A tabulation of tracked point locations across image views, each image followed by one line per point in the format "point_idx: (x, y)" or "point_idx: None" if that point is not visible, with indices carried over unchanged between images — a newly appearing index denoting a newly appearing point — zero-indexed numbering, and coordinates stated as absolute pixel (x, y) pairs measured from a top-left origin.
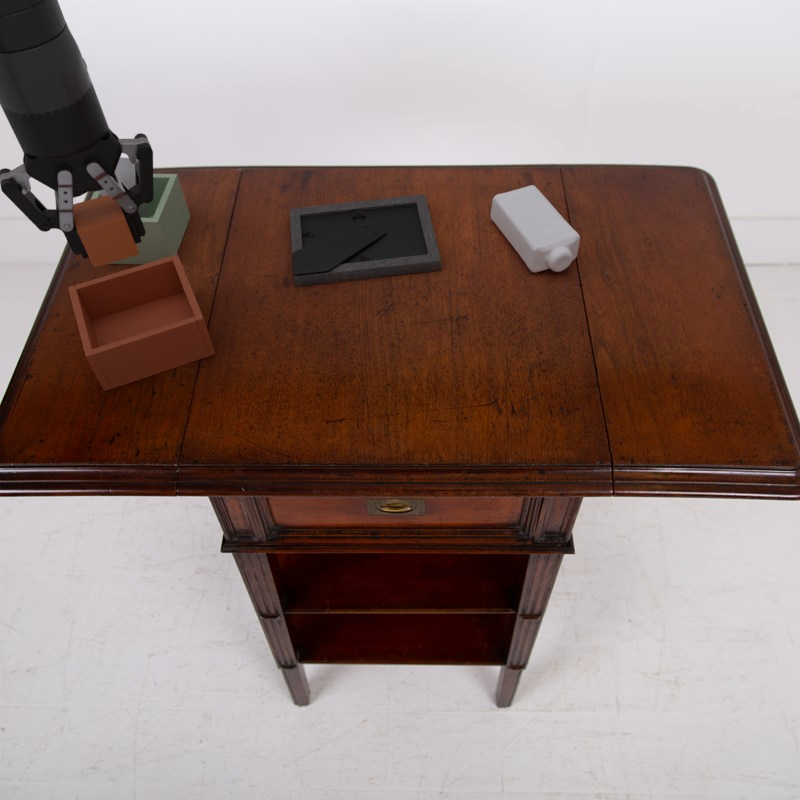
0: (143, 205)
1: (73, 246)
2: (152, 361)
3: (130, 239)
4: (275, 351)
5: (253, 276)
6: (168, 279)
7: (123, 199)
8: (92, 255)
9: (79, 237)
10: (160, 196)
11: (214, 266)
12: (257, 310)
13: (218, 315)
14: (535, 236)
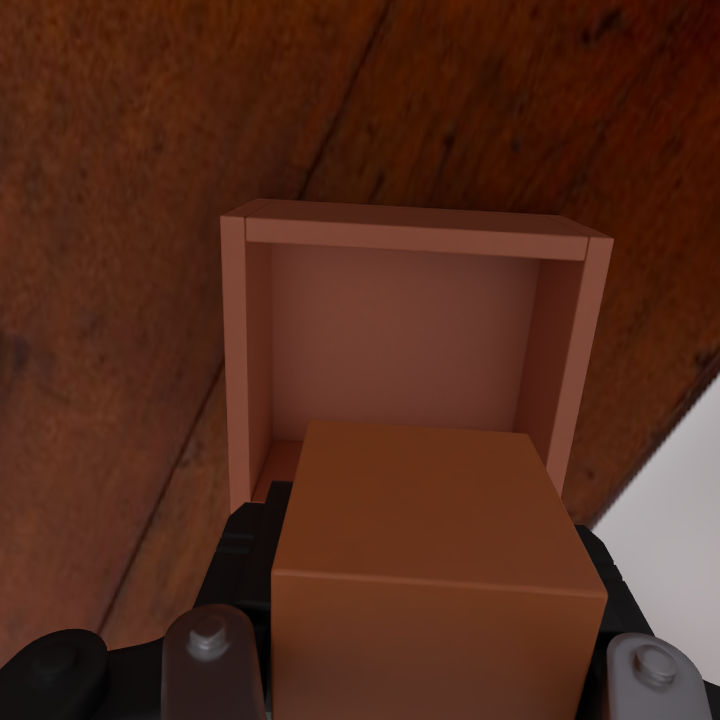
0: (270, 717)
1: (598, 562)
2: (420, 212)
3: (310, 470)
4: (99, 123)
5: (98, 416)
6: (290, 469)
7: (210, 716)
8: (528, 469)
9: None
10: None
11: (183, 491)
12: (113, 298)
13: (214, 331)
14: None
